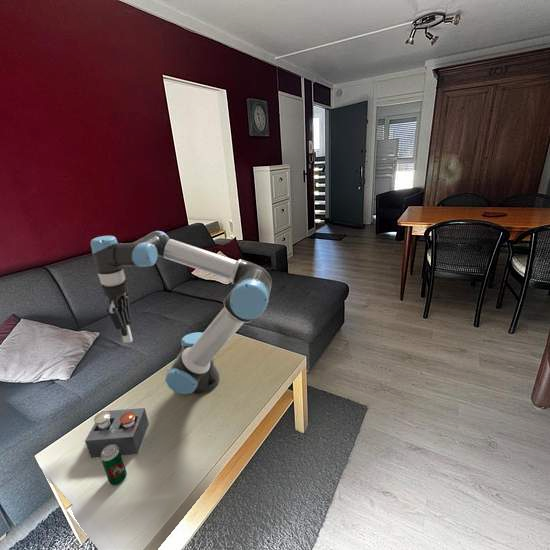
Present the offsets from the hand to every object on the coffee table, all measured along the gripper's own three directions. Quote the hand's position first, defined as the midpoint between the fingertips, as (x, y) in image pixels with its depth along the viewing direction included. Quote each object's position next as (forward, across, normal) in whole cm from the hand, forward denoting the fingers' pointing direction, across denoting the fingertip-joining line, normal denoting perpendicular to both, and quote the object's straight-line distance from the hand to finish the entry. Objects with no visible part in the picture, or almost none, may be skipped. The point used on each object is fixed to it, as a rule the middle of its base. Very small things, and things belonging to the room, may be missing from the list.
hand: (128, 341), depth 111 cm
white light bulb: (+26, +17, -6) cm, 32 cm away
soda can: (+30, +31, +2) cm, 43 cm away
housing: (+29, +17, -2) cm, 34 cm away
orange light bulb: (+27, +17, +2) cm, 32 cm away
